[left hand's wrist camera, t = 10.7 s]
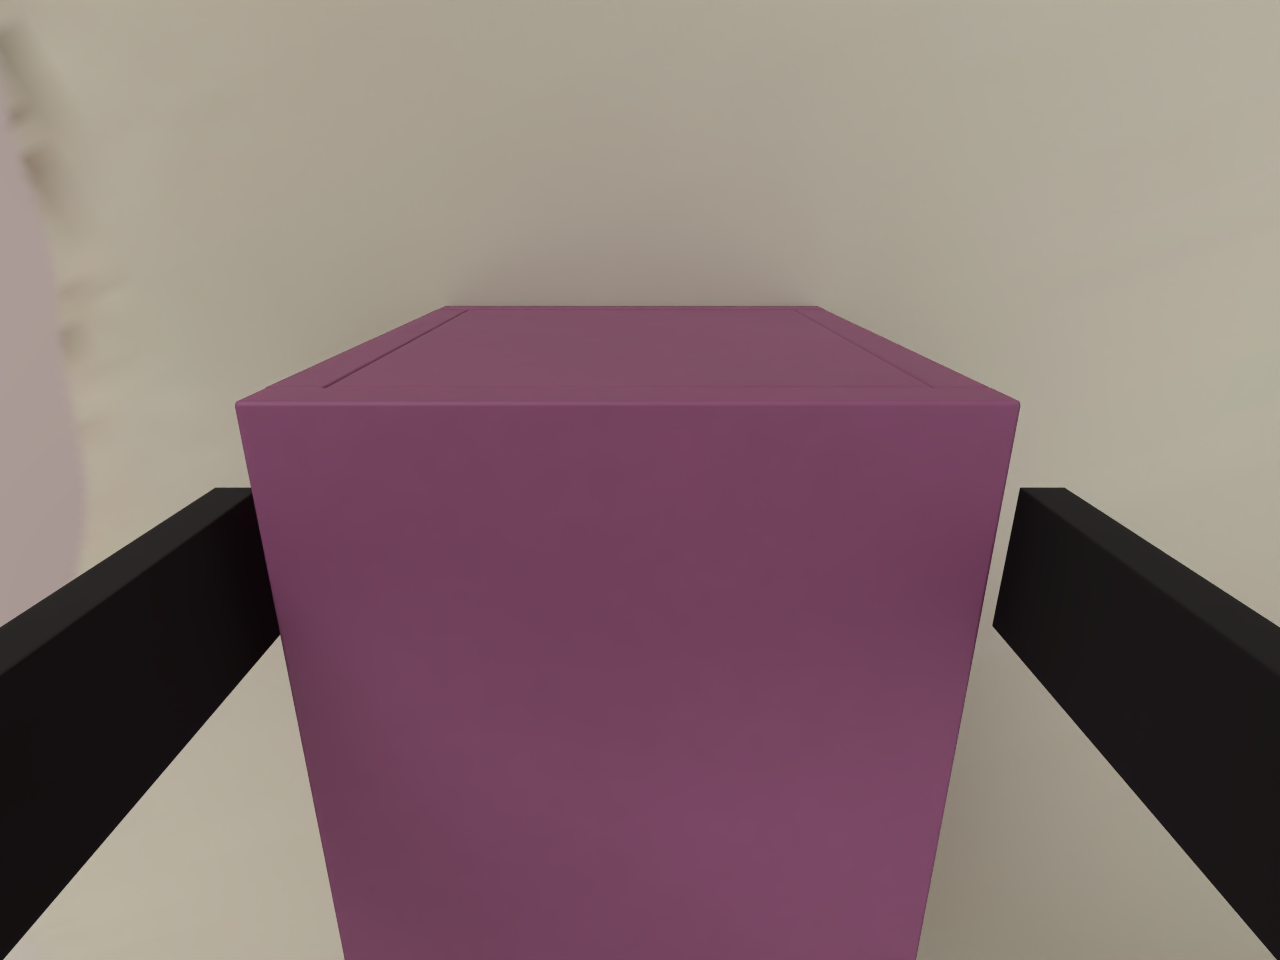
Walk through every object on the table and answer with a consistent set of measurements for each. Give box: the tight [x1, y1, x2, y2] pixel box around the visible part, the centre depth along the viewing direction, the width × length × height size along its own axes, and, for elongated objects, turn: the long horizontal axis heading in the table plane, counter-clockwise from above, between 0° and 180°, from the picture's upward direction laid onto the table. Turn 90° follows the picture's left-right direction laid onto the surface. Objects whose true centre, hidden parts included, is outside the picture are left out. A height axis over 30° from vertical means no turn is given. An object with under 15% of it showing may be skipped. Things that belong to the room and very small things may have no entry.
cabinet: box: [235, 306, 1020, 960], centre depth 18 cm, size 16×11×12 cm
